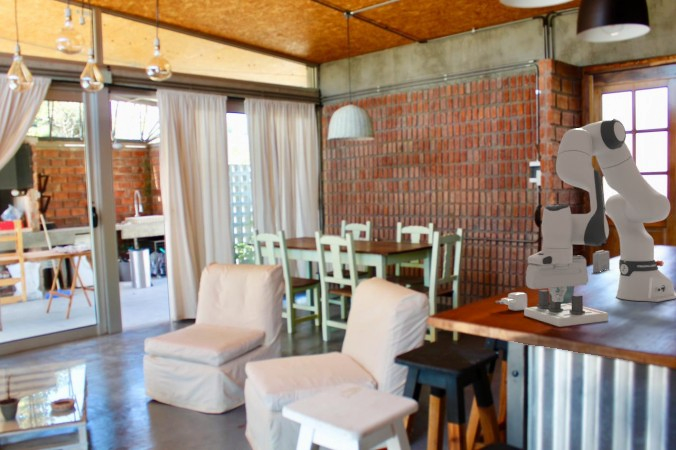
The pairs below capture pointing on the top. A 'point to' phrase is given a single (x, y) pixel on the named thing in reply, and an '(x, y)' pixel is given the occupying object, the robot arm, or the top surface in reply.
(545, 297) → the far handle
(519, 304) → the power adapter
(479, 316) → the top surface
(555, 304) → the middle handle
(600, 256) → the cassette player
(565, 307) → the panel
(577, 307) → the handle
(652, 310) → the top surface
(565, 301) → the flower pot
